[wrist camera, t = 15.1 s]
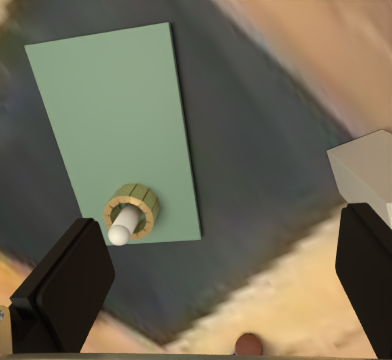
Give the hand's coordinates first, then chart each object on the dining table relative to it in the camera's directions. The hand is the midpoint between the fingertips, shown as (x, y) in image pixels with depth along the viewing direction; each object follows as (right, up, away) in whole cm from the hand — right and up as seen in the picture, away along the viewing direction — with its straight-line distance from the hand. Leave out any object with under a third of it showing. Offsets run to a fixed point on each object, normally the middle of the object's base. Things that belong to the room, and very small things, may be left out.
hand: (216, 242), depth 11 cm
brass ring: (-10, -1, +31) cm, 32 cm away
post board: (-11, +7, +29) cm, 32 cm away
